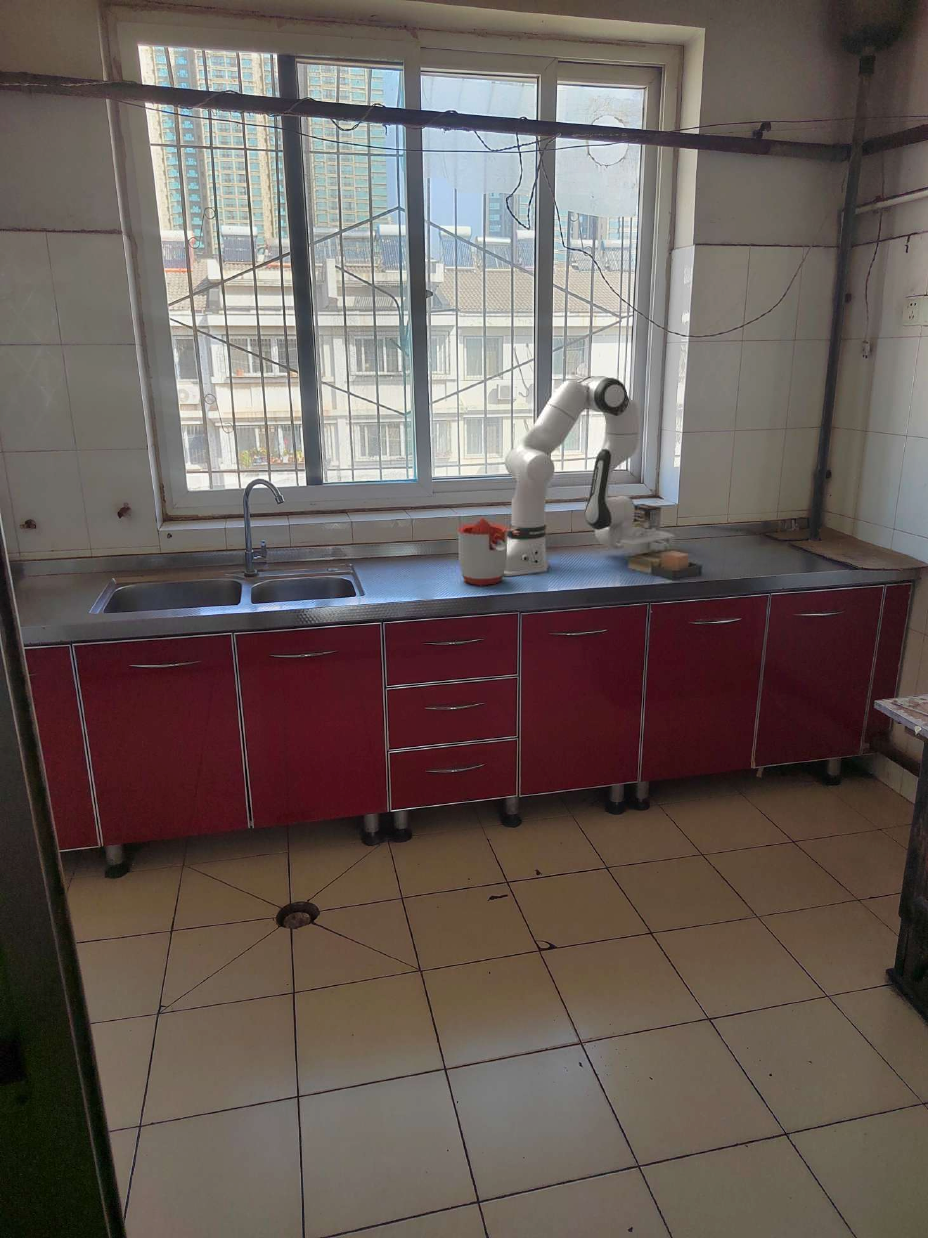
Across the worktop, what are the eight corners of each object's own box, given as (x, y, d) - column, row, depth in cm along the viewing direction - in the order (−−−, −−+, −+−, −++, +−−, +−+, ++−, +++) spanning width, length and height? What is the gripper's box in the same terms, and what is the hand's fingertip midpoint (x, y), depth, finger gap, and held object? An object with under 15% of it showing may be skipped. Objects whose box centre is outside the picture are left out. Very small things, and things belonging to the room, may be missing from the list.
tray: (673, 580, 252) (674, 571, 251) (650, 574, 260) (651, 565, 259) (701, 574, 259) (701, 564, 258) (678, 568, 267) (678, 559, 266)
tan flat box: (650, 573, 260) (651, 561, 259) (628, 567, 268) (628, 556, 267) (676, 568, 267) (676, 556, 266) (653, 562, 275) (653, 551, 274)
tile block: (660, 570, 262) (677, 575, 256) (661, 552, 260) (678, 556, 254) (671, 568, 264) (688, 572, 259) (672, 550, 262) (689, 554, 257)
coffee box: (627, 549, 294) (629, 505, 289) (639, 546, 298) (641, 503, 293) (646, 553, 287) (649, 508, 282) (658, 551, 291) (661, 506, 286)
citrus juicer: (481, 592, 243) (481, 526, 237) (448, 580, 257) (447, 517, 250) (521, 583, 252) (522, 519, 246) (487, 572, 265) (487, 511, 259)
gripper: (612, 534, 265) (643, 541, 254) (655, 526, 276) (687, 533, 265) (611, 553, 267) (642, 561, 256) (654, 544, 278) (686, 552, 267)
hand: (665, 547), depth 261 cm, fingers closed
